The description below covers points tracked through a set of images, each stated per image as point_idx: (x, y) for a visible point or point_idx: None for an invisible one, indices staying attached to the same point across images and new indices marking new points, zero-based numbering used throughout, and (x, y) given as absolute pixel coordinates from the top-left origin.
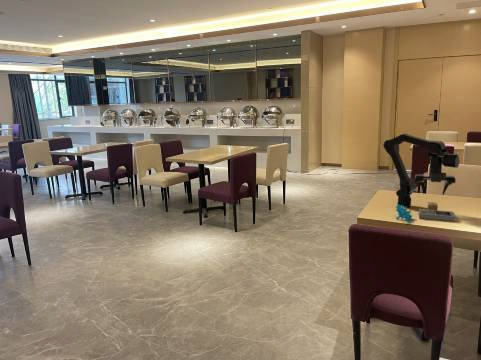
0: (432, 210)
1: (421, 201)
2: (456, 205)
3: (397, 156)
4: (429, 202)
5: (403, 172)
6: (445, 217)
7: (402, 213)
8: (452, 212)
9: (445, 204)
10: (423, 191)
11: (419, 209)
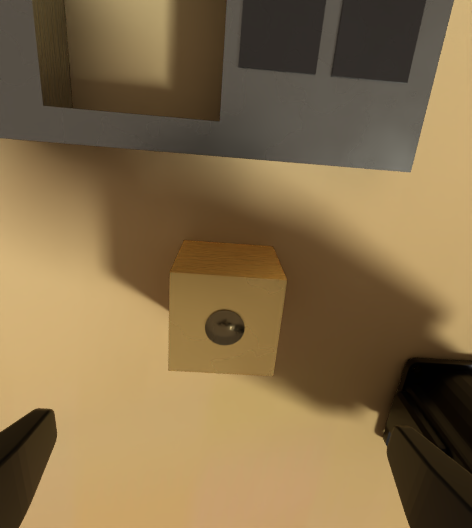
0: (252, 136)
1: (263, 524)
2: None
3: None
4: (257, 356)
5: None
6: None
7: None
8: (6, 91)
9: (90, 489)
10: (444, 461)
11: (407, 149)
